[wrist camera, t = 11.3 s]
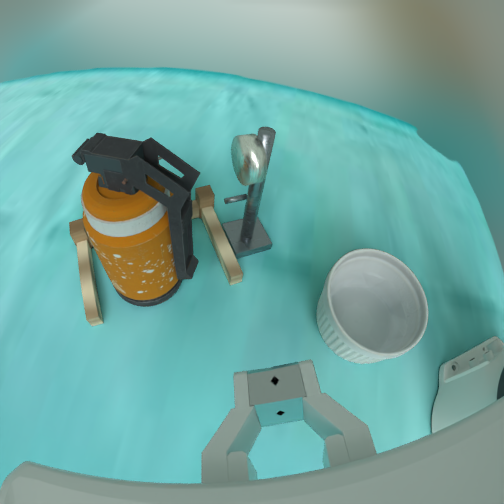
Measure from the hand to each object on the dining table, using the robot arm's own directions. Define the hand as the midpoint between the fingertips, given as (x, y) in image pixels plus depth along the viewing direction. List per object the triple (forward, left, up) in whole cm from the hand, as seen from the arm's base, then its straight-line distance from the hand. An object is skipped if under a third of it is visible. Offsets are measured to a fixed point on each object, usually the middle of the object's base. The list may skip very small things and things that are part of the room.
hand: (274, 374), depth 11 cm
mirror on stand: (-10, -20, -22) cm, 31 cm away
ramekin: (-18, -4, -22) cm, 29 cm away
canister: (+3, -18, -22) cm, 28 cm away
